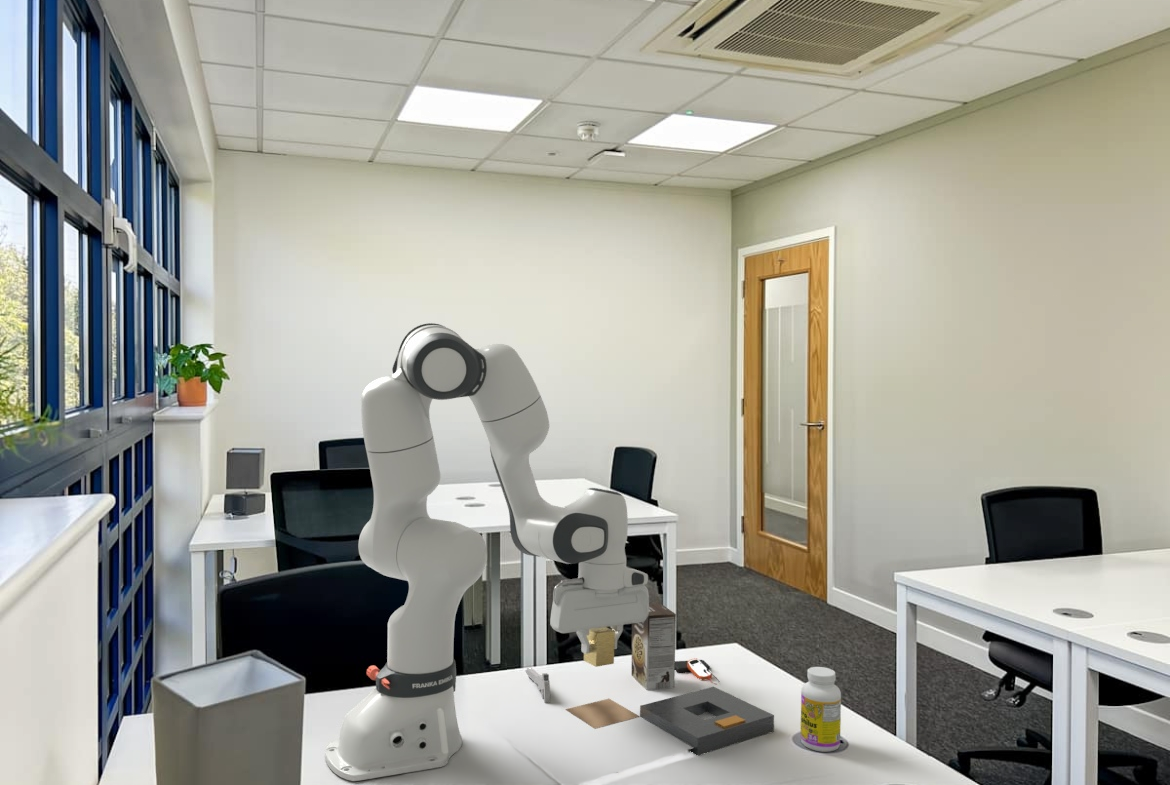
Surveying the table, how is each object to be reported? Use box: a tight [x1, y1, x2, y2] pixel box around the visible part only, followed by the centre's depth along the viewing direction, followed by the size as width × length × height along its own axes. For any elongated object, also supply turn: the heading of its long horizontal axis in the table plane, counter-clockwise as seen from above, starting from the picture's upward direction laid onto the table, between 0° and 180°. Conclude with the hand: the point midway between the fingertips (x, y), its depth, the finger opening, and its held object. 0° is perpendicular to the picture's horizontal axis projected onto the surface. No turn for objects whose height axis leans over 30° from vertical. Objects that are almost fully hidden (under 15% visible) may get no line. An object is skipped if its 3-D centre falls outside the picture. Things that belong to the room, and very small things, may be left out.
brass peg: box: [583, 627, 615, 667], centre depth 152 cm, size 4×4×6 cm
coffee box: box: [631, 601, 677, 691], centre depth 169 cm, size 9×6×16 cm
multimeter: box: [675, 657, 720, 685], centre depth 173 cm, size 18×12×3 cm, turn 7°
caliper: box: [525, 667, 551, 704], centre depth 167 cm, size 20×1×6 cm, turn 15°
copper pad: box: [565, 698, 641, 730], centre depth 152 cm, size 10×10×1 cm
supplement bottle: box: [800, 666, 842, 753], centre depth 142 cm, size 7×7×13 cm
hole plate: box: [639, 686, 775, 756], centre depth 149 cm, size 18×16×3 cm
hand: (599, 650), depth 152 cm, fingers closed on brass peg, 4 cm apart
